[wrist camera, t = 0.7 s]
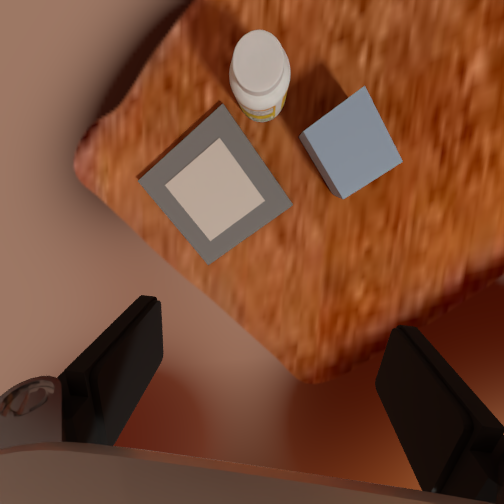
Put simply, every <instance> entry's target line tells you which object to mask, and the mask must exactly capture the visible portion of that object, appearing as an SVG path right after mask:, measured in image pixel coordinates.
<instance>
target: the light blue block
mask: <svg viewBox="0 0 504 504" xmlns="http://www.w3.org/2000/svg"><path fill="white" fill-rule="evenodd" d="M299 139H300V140H301V142H302V144H303V145H304V147H305V149H306V151H307V152H308V154H309V156H310V157H311V159H312V161H313V162H314V164H315V166H316V167H317V169H318V171H319V172H320V174H321V176H322V177H323V179H324V181H325V182H326V184H327V186H328V187H329V189H330V191H331V192H332V194H333V195H335V196H337V197H339V198H341V199H345V198H346V197H348V196H349V195H351V194H353V193H354V192H356V191H357V190H359V189H361V188H362V187H364V186H365V185H367V184H368V183H370V182H372V181H373V180H375V179H376V178H378V177H379V176H381V175H383V174H384V173H386V172H387V171H389V170H390V169H392V168H394V167H395V166H397V165H398V164H400V163H401V162H403V161H402V159H401V157H400V155H399V153H398V151H397V149H396V147H395V145H394V143H393V141H392V139H391V137H390V135H389V133H388V131H387V129H386V127H385V125H384V123H383V121H382V119H381V117H380V115H379V113H378V111H377V109H376V107H375V105H374V103H373V101H372V99H371V97H370V95H369V93H368V91H367V89H366V87H365V86H364V87H362V88H361V89H360V90H358V91H357V92H356V93H354V94H353V95H352V96H350V97H349V98H347V99H346V100H345V101H343V102H342V103H341V104H339V105H338V106H337V107H335V108H334V109H333V110H331V111H330V112H329V113H327V114H326V115H325V116H323V117H322V118H321V119H319V120H318V121H316V122H315V123H314V124H312V125H311V126H310V127H308V128H307V129H306V130H304V131H303V132H302V133H301V134H300V135H299Z"/></svg>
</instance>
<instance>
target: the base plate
mask: <svg viewBox="0 0 504 504" xmlns="http://www.w3.org/2000/svg"><path fill="white" fill-rule="evenodd" d="M138 182H139V183H140V184H141V185H142V187H143V188H144V189H145V190H146V191H147V193H148V194H149V195H150V196H151V197H152V199H153V200H154V201H155V202H156V203H157V205H158V206H159V207H160V208H161V209H162V211H163V212H164V213H165V214H166V215H167V216H168V218H169V219H170V220H171V221H172V222H173V224H174V225H175V226H176V227H177V228H178V230H179V231H180V232H181V233H182V234H183V236H184V237H185V238H186V239H187V240H188V242H189V243H190V244H191V245H192V246H193V247H194V249H195V250H196V251H197V252H198V253H199V255H200V256H201V257H202V258H203V259H204V261H205V262H206V263H207V264H208V265H209V264H211V263H212V262H213V261H215V260H216V259H218V258H219V257H220V256H222V255H223V254H225V253H226V252H228V251H229V250H230V249H232V248H233V247H235V246H236V245H237V244H239V243H240V242H242V241H243V240H244V239H246V238H247V237H249V236H250V235H252V234H253V233H254V232H256V231H257V230H259V229H260V228H261V227H263V226H264V225H266V224H267V223H268V222H270V221H271V220H273V219H274V218H276V217H277V216H278V215H280V214H281V213H283V212H284V211H285V210H287V209H288V208H290V207H291V206H292V205H293V204H292V203H291V201H290V200H289V198H288V197H287V195H286V194H285V192H284V191H283V190H282V188H281V187H280V185H279V184H278V182H277V181H276V179H275V178H274V177H273V175H272V174H271V172H270V171H269V169H268V168H267V166H266V165H265V164H264V162H263V161H262V159H261V158H260V156H259V155H258V153H257V152H256V151H255V149H254V148H253V146H252V145H251V143H250V142H249V140H248V139H247V138H246V136H245V135H244V133H243V132H242V130H241V129H240V127H239V126H238V125H237V123H236V122H235V120H234V119H233V117H232V116H231V114H230V113H229V112H228V110H227V109H226V107H225V106H224V104H222V105H221V106H219V107H218V108H217V109H216V110H215V111H214V112H213V113H212V114H211V115H210V116H209V117H207V118H206V119H205V120H204V121H203V122H202V123H201V124H200V125H199V126H198V127H196V128H195V129H194V130H193V131H192V132H191V133H190V134H189V135H188V136H187V137H185V138H184V139H183V140H182V141H181V142H180V143H179V144H178V145H177V146H176V147H174V148H173V149H172V150H171V151H170V152H169V153H168V154H167V155H166V156H165V157H163V158H162V159H161V160H160V161H159V162H158V163H157V164H156V165H155V166H154V167H153V168H151V169H150V170H149V171H148V172H147V173H146V174H145V175H144V176H143V177H142V178H140V179H139V180H138Z"/></svg>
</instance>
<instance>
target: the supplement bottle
mask: <svg viewBox="0 0 504 504" xmlns="http://www.w3.org/2000/svg"><path fill="white" fill-rule="evenodd" d="M229 79H230V85H231V89H232V91H233V93H234V95H235V98H236V99H237V101H238V103H239V105H240V108H241V109H242V111H243V112H244V114H245V115H246V116H247V117H248V118H250V119H252V120H254V121H257V122H266V121H269V120H272V119H273V118H275V117H276V116H277V115H278V114H279V113H280V111H281V110H282V108H283V106H284V103H285V100H286V95H287V91H288V87H289V82H290V63H289V60H288V57H287V55H286V53H285V51H284V49H283V48H282V46H281V44H280V42H279V41H278V39H277V38H276V37H275V36H274V35H273V34H271V33H269V32H267V31H264V30H254V31H251V32H249V33H247V34H245V35H244V36H243V37H242V38H241V39H240V40H239V42H238V43H237V45H236V47H235V50H234V53H233V58H232V61H231V64H230V70H229Z"/></svg>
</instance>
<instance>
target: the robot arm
mask: <svg viewBox="0 0 504 504" xmlns="http://www.w3.org/2000/svg"><path fill="white" fill-rule="evenodd" d="M162 358H163V335H162V316H161V302H160V301H157V298H156V297H153V296H144V295H141V296H140V297H139V298H138V299H136V300H135V301H134V302H133V304H131V305H130V306H129V307H128V308H127V309H126V310H125V311H124V312H123V313H122V314H121V315H120V316H119V317H118V318H117V319H116V320H115V321H114V322H113V323H112V324H111V325H110V326H109V327H108V328H107V329H106V330H105V331H104V332H103V333H102V334H101V335H100V336H99V337H98V338H97V339H96V340H95V341H94V342H93V343H92V344H91V345H90V346H89V347H88V348H87V349H85V350H84V351H83V353H81V354H80V355H79V357H77V358H76V359H75V360H74V361H73V362H72V363H71V364H70V365H69V366H68V367H67V368H66V369H65V371H64V372H62V374H60V375H59V376H58V377H57V378H56V377H52V376H39V377H35V378H31V379H28V380H26V381H23V382H21V383H19V384H17V385H15V386H13V387H12V388H10V389H9V390H8V391H6V392H5V393H4V394H2V395H1V396H0V504H504V435H503V433H504V426H503V425H502V424H501V423H500V422H499V421H498V419H497V418H496V417H495V416H494V415H493V414H492V413H491V411H490V410H489V409H488V408H487V407H486V406H485V405H484V403H483V402H482V401H481V400H480V399H479V398H478V397H477V396H476V394H475V393H474V392H473V391H472V390H471V389H470V388H469V387H468V385H467V384H466V383H465V382H464V381H463V380H462V378H461V377H460V376H459V375H458V374H457V373H456V372H455V371H454V369H453V368H452V367H451V366H450V365H449V364H448V363H447V361H446V360H445V359H444V358H443V357H442V356H441V355H440V353H439V352H438V351H437V350H436V349H435V348H434V347H433V346H432V345H431V343H430V342H429V341H428V340H427V339H426V338H425V337H424V335H423V334H422V333H421V332H420V331H419V330H418V329H417V328H416V327H413V326H404V325H398V326H397V327H396V328H394V329H392V331H391V334H390V337H389V340H388V343H387V346H386V350H385V353H384V356H383V359H382V362H381V365H380V368H379V371H378V375H377V377H376V382H375V385H376V390H377V393H378V395H379V397H380V399H381V401H382V403H383V406H384V408H385V410H386V412H387V414H388V417H389V419H390V421H391V423H392V425H393V427H394V430H395V432H396V434H397V436H398V439H399V441H400V443H401V445H402V447H403V449H404V452H405V454H406V456H407V458H408V460H409V463H410V465H411V467H412V469H413V471H414V474H415V476H416V478H417V480H418V482H419V485H420V487H421V489H422V491H419V490H413V489H406V488H400V487H394V486H387V485H381V484H374V483H368V482H361V481H355V480H348V479H342V478H335V477H328V476H322V475H315V474H308V473H301V472H294V471H288V470H281V469H274V468H268V467H261V466H254V465H247V464H240V463H233V462H227V461H219V460H213V459H206V458H199V457H192V456H184V455H177V454H170V453H163V452H156V451H148V450H141V449H132V448H124V447H116V446H113V445H114V444H115V442H116V441H117V439H118V437H119V435H120V433H121V431H122V430H123V428H124V426H125V425H126V423H127V421H128V419H129V418H130V416H131V414H132V412H133V411H134V409H135V407H136V405H137V404H138V402H139V400H140V398H141V396H142V395H143V393H144V391H145V390H146V388H147V386H148V384H149V383H150V381H151V379H152V377H153V376H154V374H155V372H156V370H157V369H158V367H159V365H160V363H161V361H162Z"/></svg>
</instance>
